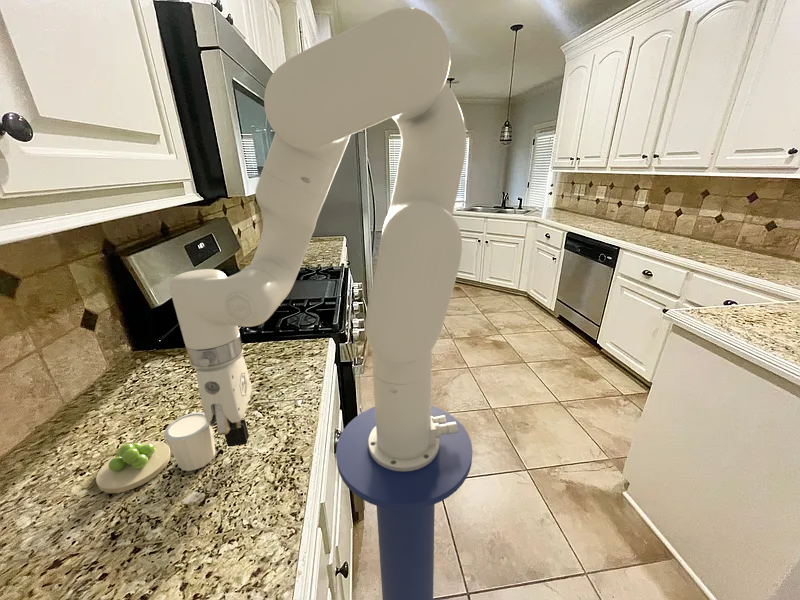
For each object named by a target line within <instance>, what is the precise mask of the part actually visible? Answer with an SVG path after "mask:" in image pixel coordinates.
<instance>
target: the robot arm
mask: <svg viewBox="0 0 800 600" xmlns="http://www.w3.org/2000/svg"><path fill="white" fill-rule="evenodd" d="M450 67H451V50H450V43H449V40H448V37H447V35H446V32H445V30H444V28H443V26H442V25H441V23H440V22H439V21H438V20H437V19H436V18H435V17H434V16H433V15H431V14H430V13H428V12H427V11H426V10H422V9H420V8H418V7H410V6H409V7H408V6H404V7H397V8H392V9H389V10H386V11H384V12H381V13H380V14H377V15H375V16H373V17H371V18H369V19H366V20H365V21H362V22H360V23H358V24H357V25H354V26H352V27H350V28H348V29H346V30H344V31H342V32H340V33H338V34H336V35H334V36H331V37H329V38H327V39H325V40H323V41H321V42H319V43H316V44H315V45H313V46H311V47H309V48H307V49H304V50H303V51H301V52H299V53H297V54H295V55H294V56H292V57H289V59H287V60H286V61H285V62H283V63H282V64H280V65H279V66H278V67H277V68H276V69H275V70H274V72H273V73H272V74H271V76H270V78H269V79H268V81H267V83H266V87H265V90H264V96H263V98H264V99H263V104H264V106H263V107H264V112H265V116H266V120H267V121H268V123H269V126H270V127H271V129H272V130H273V131H274V135H273V138H272V141H271V144H270V146H269V149H268V153H267V156H266V158H265V161H264V164H263V168H262V169H261V173H260V175H259V179H258V181H257V184H256V187H255V199H256V202H257V204H258V207H259V209H260V211H261V214H262V220H263V221H262V223H263V224H262V231H261V234H260V238H259V241H258V244H257V247H256V250H255V253H254V255H253V258H252V260H251V263H250V264H249V265H247V266H246V267H244V268H243V269H242V270H240V271H238V272H236V273H234V274H232V275H229V276H227V275H226V273H224V271H221V270H219V269H214V268H201V269H195V270H190V271H185V272H182V273H179V274H177V275H176V276H174V277H172V279H171V280H170V282H169V292H170V295H171V299H172V303H173V307H174V310H175V313H176V318H177V320H178V321H177V322H178V325H179V329H180V331H181V335H182V338H183V343H184V344H185V345H184V346H185V350H186V353H187V358H188V360H189V364H190V366H191V368H193V369H195V372H196V379H197V385H198V392H199V396H200V401H201V406H202V409H203V413H204V414H205V417H206V420H207V422H208V424H209V425H210V426H212V427H214V426H215V425H216V428H217V435H218V436H224V438H225V442H226V446H227V447H229V448H231V447H237V446H243V445H246V444H247V443H248V441H249V440H248V439H249V437H250V435H249V430H248V425H247V422H246V421H247V420H246V419H245V414H246V411H247V408H248V406H249V401H250V399H251V396H252V392H253V386H252V382H251V378H250V374H249V371H248V368H247V364H246V360H245V357H244V353H245V352H244V346H243V342H242V336H241V333H240V329H239V327H242V328H243V327H244V328H251V327H258V326H260V325H262V324H264V323H265V322H267V321H268V320H269V319H270V318H271V317H272V316H273V315H274V313H275V311H277V309H278V308H279V306H280V305H281V304H282V303H283V302H284V300H286V298H287V297H288V296H289V294H290V292H292V291H291V290H292V289H293V286H294V284H295V282H296V280H297V277H298V275H299V273H300V269H301V267H302V265H303V262H304V260H305V257H306V255H307V252H308V249H309V246H310V244H311V243H310V242H311V240H312V237H313V235H314V232H315V229H316V227H317V221H318V218H319V216H320V213H321V211H322V208H323V206H324V203H325V201H326V199H327V196H328V193H329V191H330V188H331V185H332V183H333V181H334V179H335V176H336V173H337V171H338V169H339V166H340V163H341V162H342V158H343V156H344V154H345V151H346V149H347V146H348V143H349V142H350V138H351V135H353V134H356V133H359V132H361V131H363V130H367V129H368V128H372V127H373V126H376V125H379V124H380V123H382V122H384V121H387V120H389V119H392V120H393V121H394V122H395V124H396V125H397V127H398V130H399V134H400V150H399V155H398V161H397V168H396V175H395V181H394V185H393V191H392V196H391V200H390V203H389V204H390V205H389V209H388V212H387V215H386V217H385V219H384V222H383V225H382V229H381V235H380V243H379V249H378V255H377V262H376V266H375V271H374V272H375V273H374V277H373V281H372V286H371V289H370V292H369V295H368V301H367V306H366V315H365V322H364V330H365V336H366V340H367V342H368V344H369V346H370V348H371V360H372V361H371V362H372V378H373V379H372V380H373V397H374V407H375V415H376V426H375V427H374V428H373V430H372V431H371V433H370V435H369V439H368V446H369V452H370V454H371V456H372V458H373V459H374V460H375V461H376V462H377V463H378V464H379V465H381V466H383V467H385V468H387V469H390V470H394V471H403V472H406V471H413V470H417V469H420V468H422V467H424V466H426V465H428V464H429V463H430V462H431V461H432V460H433V459H434V458H435V457H436V455H437V453H438V451H439V443H440V441H439V438H441V435H445V434H448V435H449V434H455V433H458V427H457V424H456V422H450V423H446V417H445V415H443V416H438V417H432V416H431V405H432V370H433V369H432V364H433V363H432V362H433V361H432V360H433V358H432V357H433V355H432V354H433V353H432V350H433V349H434V347H435V346H436V344H437V342H438V340H439V337H440V336H441V332H442V330H443V326H444V323H445V320H446V316H447V313H448V309H449V305H450V301H451V298H452V294H453V291H454V287H455V284H456V281H457V277H458V273H459V269H460V265H461V261H462V251H463V239H462V234H461V230H460V227H459V225H458V222H457V221H456V219H455V217H454V216H453V215H454V210H455V205H456V201H457V196H458V193H459V187H460V182H461V177H462V174H463V173H462V172H463V168H464V162H465V158H466V149H467V129H466V124H465V119H464V115H463V112H462V109H461V107H460V106H461V105H460V104H459V101H458V99H457V96H456V95H455V94H454V92H453V90H452V89H451V87H450V85H448V83H447V79H448V76H449V74H450V73H449V72H450ZM443 423H445V424H443ZM439 424H442V425H439Z"/></svg>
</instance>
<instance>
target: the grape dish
mask: <svg viewBox="0 0 800 600" xmlns="http://www.w3.org/2000/svg"><path fill="white" fill-rule="evenodd" d="M171 456H172V451H171V449H170V447H169V445H168V443H167V442H166V443H165V442H164V441H159V440H152V441H151V440H149V441H145V442H141V443H140V442H134V443H124V444H123V445H121V446H120V447H119V449H118V450H117V451H116V452H115V455H113V456H112V457H111V458H109V459H108V460H107V461H106V462H105V463H104V464H103V465H102V466H101V467H100V468H99V470H98V472H97V473H96V476H95V482H96V485H97V487H98V489H99V490H100V491H102V492H103V493H106V494H118V493H119V494H121V493H125V492H128V491H130V490H133V489H136V488H138V487H140V486H142V485H144V484H146V483H148V482H149V481H151V480H153V479H154V478H155V477H157V476H158V475H159V474H160V473H161V472H162V471H163V470H164V469H165V468H166V467H167V466H168V464H169V462H170V460H171V458H172V457H171Z"/></svg>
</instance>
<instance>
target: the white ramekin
mask: <svg viewBox="0 0 800 600" xmlns="http://www.w3.org/2000/svg"><path fill="white" fill-rule="evenodd" d="M163 437H164V440H165V441H166V444H167V445H168V446H169V448H170V451H171V454H172V456H173V458H174V460H175V461H176V464H177V466H178V467H179V469H181V471H186V472H191V471H197V470H199V469H200V468H203V467H205V466H207V465H208V464H209V463H210V462H211V461H212V460H213V459H214V458H215V456H216V443H215V436H214V429H213V426H210V425H209V424H208V422H207V420H206V417H205V414H204V411H202V412H201V411H197V412H191V413H187V414H185V415H182V416H180V417H178V418H176V419H175V420H173V421H172V422H170V423H169V424H168V425H167V426H166V427H165V429H164V431H163Z"/></svg>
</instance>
